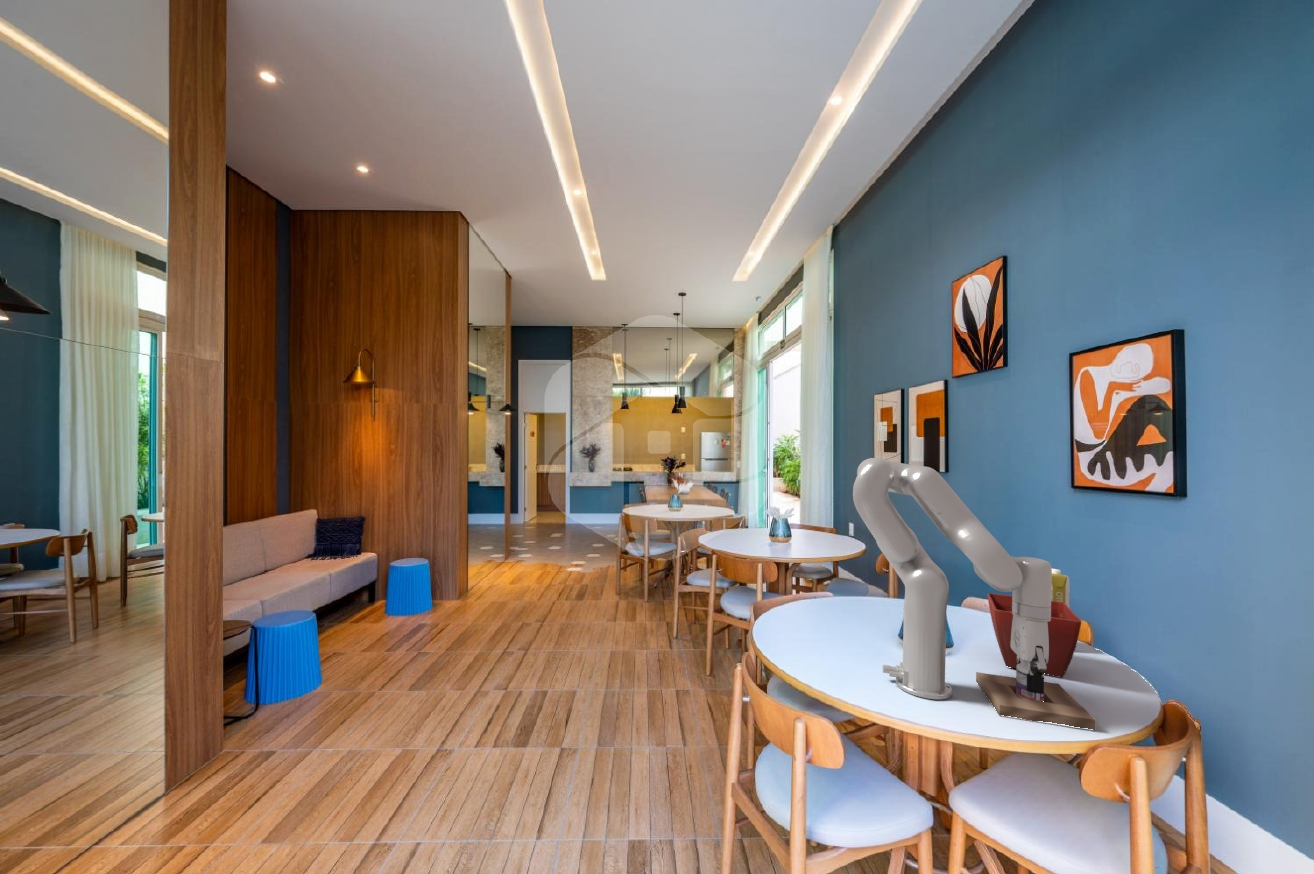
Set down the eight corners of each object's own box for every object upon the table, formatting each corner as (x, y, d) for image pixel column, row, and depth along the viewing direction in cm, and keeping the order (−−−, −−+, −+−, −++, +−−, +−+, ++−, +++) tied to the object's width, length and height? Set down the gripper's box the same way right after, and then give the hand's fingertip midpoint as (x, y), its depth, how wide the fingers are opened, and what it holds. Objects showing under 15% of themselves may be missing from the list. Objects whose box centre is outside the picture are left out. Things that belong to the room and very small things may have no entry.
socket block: (999, 716, 116) (999, 704, 116) (976, 681, 133) (976, 672, 133) (1095, 731, 110) (1095, 719, 110) (1058, 693, 128) (1058, 683, 128)
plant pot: (993, 670, 141) (994, 608, 141) (986, 646, 158) (987, 592, 158) (1081, 686, 132) (1082, 621, 132) (1064, 660, 149) (1064, 602, 149)
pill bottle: (1032, 693, 125) (1032, 652, 125) (1049, 704, 119) (1050, 662, 119) (1010, 692, 124) (1011, 652, 125) (1027, 703, 119) (1027, 661, 119)
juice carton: (1073, 652, 155) (1074, 573, 155) (1044, 650, 156) (1045, 571, 157) (1054, 641, 164) (1055, 566, 165) (1027, 638, 165) (1028, 564, 166)
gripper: (1000, 598, 131) (999, 669, 131) (1026, 619, 115) (1025, 700, 115) (1035, 602, 129) (1033, 674, 129) (1066, 624, 113) (1065, 706, 113)
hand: (1029, 685), depth 122 cm, fingers closed on pill bottle, 5 cm apart
